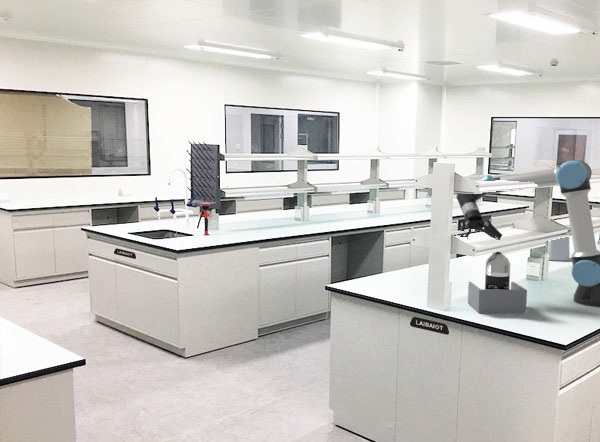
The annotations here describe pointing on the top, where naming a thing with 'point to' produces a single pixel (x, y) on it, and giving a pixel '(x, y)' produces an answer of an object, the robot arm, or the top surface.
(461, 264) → the top surface
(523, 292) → the box
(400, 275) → the top surface
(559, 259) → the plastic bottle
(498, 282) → the silver and black canister
